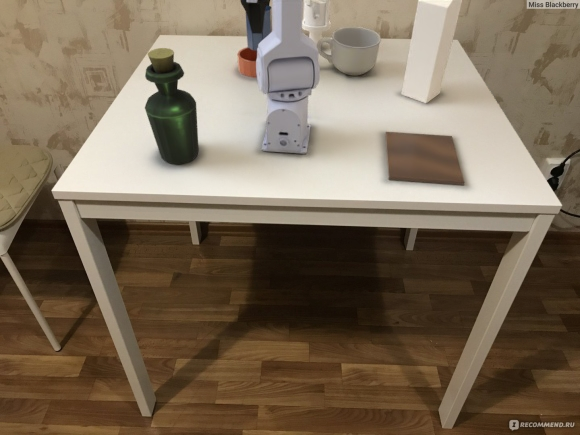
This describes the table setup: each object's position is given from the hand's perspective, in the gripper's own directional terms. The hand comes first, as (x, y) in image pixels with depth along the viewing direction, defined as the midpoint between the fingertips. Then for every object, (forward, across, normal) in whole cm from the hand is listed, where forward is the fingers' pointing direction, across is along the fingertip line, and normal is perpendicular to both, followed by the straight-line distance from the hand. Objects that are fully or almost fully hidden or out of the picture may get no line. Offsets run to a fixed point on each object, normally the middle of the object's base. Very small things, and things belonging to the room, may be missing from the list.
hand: (259, 27), depth 98 cm
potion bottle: (+10, +34, -9) cm, 37 cm away
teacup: (+10, -4, +19) cm, 22 cm away
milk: (+10, +6, +35) cm, 37 cm away
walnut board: (+10, +30, +33) cm, 46 cm away
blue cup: (+4, 0, 0) cm, 4 cm away
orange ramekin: (+10, -1, -1) cm, 10 cm away
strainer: (+10, -15, +11) cm, 21 cm away
